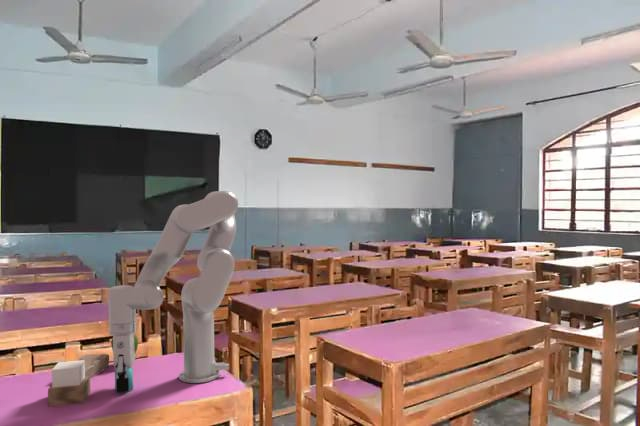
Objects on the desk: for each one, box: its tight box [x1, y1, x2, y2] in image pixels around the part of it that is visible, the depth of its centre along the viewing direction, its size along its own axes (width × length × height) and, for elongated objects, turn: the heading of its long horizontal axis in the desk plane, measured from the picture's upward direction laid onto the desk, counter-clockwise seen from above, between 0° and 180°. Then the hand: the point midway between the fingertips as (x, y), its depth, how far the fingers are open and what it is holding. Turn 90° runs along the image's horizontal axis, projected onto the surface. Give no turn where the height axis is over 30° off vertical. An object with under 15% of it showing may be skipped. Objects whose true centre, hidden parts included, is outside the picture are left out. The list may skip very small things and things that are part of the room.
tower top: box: [51, 360, 85, 388], centre depth 144 cm, size 7×7×5 cm
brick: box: [76, 353, 110, 379], centre depth 165 cm, size 17×8×5 cm, turn 175°
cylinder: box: [114, 367, 134, 394], centre depth 151 cm, size 5×5×6 cm
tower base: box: [47, 376, 91, 407], centre depth 144 cm, size 9×9×5 cm
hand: (124, 387), depth 151 cm, fingers closed on cylinder, 4 cm apart
